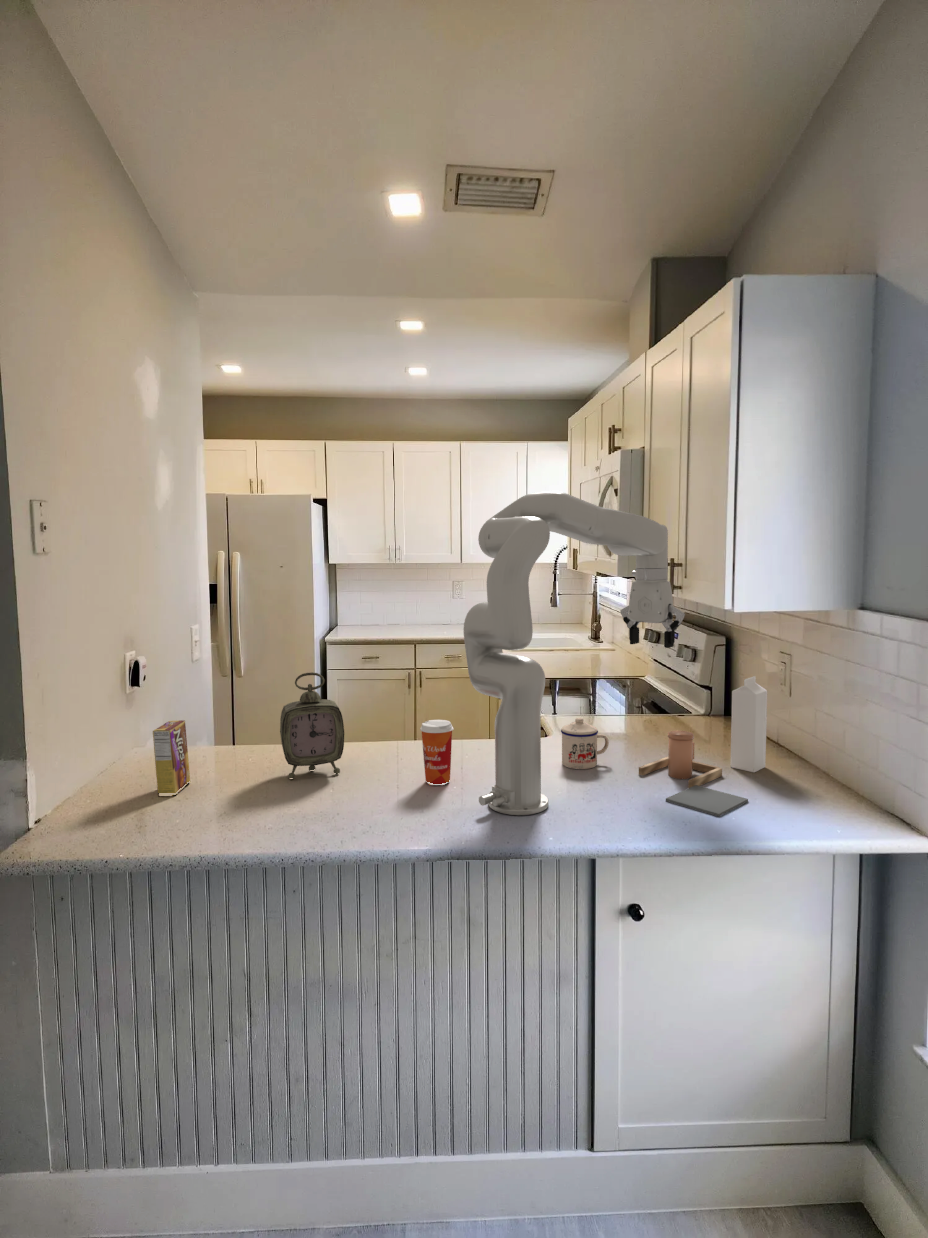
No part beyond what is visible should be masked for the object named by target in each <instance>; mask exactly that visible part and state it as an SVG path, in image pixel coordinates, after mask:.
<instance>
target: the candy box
mask: <svg viewBox="0 0 928 1238" xmlns="http://www.w3.org/2000/svg"><path fill="white" fill-rule="evenodd" d="M152 737H153V738H152V739H153V740H152V741H153V750H154V751H153V752H154V761H155V762H154V764H155V776H156V777H155V778H156V786H157V794H158V793H176V792H177V791H178V790H179V789H180V788H182V787H183V786H184V785H185V784H187V782H189V781H190V782H191V775H190V762H189V753H188V752H189V751H188V740H187V738H188V737H187V729H186V720H184V719H182V720H169V721H166V722H165V723H163V724H161V725H160V726H158V727H156V728H155V729H154V730H152Z"/></svg>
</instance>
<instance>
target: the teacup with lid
mask: <svg viewBox="0 0 928 1238" xmlns="http://www.w3.org/2000/svg"><path fill="white" fill-rule="evenodd" d="M560 732H561V764H562V765H563V766H564V767H566V768H569V769H571V770H572V769H573V770H588V769H592V768H595V767H596V766H597V765H598V755H602V754H604V753H605V752H606V751H607V749H608V748H609V745H610V744H609V743H610V742H609V738H608V737H607V736H606V735H605V734H601V733H599V730H598V728H597V727H596V726H595V725H591V724H589V723H587V722H586V721H584V718H583V717H576V718H575V721H572V722H571V723H569V724H566V725H563V726H562V727H561V729H560ZM599 738H600V739H604V746H603V747H602V748H601V749H600V750H598V739H599Z"/></svg>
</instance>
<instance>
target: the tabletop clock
mask: <svg viewBox="0 0 928 1238" xmlns="http://www.w3.org/2000/svg"><path fill="white" fill-rule="evenodd" d="M307 676H308V677H309V676H316V677H319V678H321V680H322V682H321V684H319V685H317V686H313V685H312V683H308V684H307V687H303V686H301V685H299V684H298V681H299V680H300V679H301V678H304V677H307ZM325 681H326V680H325V678H324V676H323V675H321V673H318V672H312V671H311V672H305V673H301V674H300V675H298V676H297V677H296V678H295V681H294V684H295V687H296V688H297V689H299V690H302V691H304V692H303V693H302V694H301V695H300V697H299V700H296V701H292V702H289V703H287V704H285V705H283V707H282V710H281V713H280V723H279V735H280V741H281V743H280V744H281V747H282V752H283V755H284V758H285V761H286V762H287V764H288V765H290V766H292V770H291V772H289V773H288V775H287V777H288V778H287V779H289V778H294V777H295V778H296V774H295V771H296V769H297V767H308V766H309V767H308V770H309V771H310V770H314V769H315V770H316V766H320V765H325V764H331V767H332V768H333V774H334V773H336V774H335V775H339V774H340V773H341V768H339V767H337V766H336V764H335V762H336V761H339V760H340V759H341V758H342V755H343V753H344V747H345V727H344V726H345V725H344V718H343V714H342V711H341V710H340V708H339V706H338V704H337V703H336V702H335V701H334V700H331V699H324V698H323V699H322V698H321V695H320V694H319V693H318V692H317V691H314V690H318V689H321V688H322V686H324V684H325ZM338 773H339V774H338ZM295 778H294V779H295Z"/></svg>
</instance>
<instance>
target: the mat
mask: <svg viewBox="0 0 928 1238" xmlns="http://www.w3.org/2000/svg"><path fill="white" fill-rule="evenodd" d="M665 802H666V803H667V802H668V803H671V804H674V805H677V806H681V807H685V808H688V809H691V810H695V811H697V812H698V811H699V812H701V813H705V814H709V815H711V816H715V817H721V816H723V815H725V814H727V813H729V812H731V811H732V810H735V809H737V808H738V807H741V806H742V805H745V804H747V803H749V798H746V797H742V796H738V795H735V794H731V793H728V792H724V791H721V790H716V789H712V788H709V787H705V786H702V785H701V786H698V785H695V786H693V787H690V788H688V787H687V788H686V789H684V790H682V791H679V792H677V793H674V794H672V795H670V796H668V797H666V798H665Z"/></svg>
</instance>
